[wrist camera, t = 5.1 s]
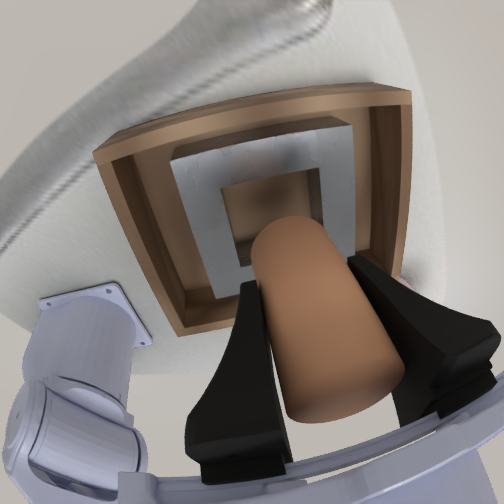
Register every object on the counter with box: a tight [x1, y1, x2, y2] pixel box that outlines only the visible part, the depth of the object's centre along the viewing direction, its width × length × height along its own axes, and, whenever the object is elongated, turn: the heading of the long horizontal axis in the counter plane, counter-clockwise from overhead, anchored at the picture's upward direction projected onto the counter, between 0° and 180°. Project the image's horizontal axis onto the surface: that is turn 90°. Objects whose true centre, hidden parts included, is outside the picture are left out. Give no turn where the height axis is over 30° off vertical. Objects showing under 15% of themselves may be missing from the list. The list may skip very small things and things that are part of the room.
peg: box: [251, 216, 405, 423], centre depth 12 cm, size 4×4×8 cm
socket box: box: [92, 83, 412, 337], centre depth 19 cm, size 17×14×4 cm
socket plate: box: [170, 116, 355, 299], centre depth 19 cm, size 10×10×3 cm
